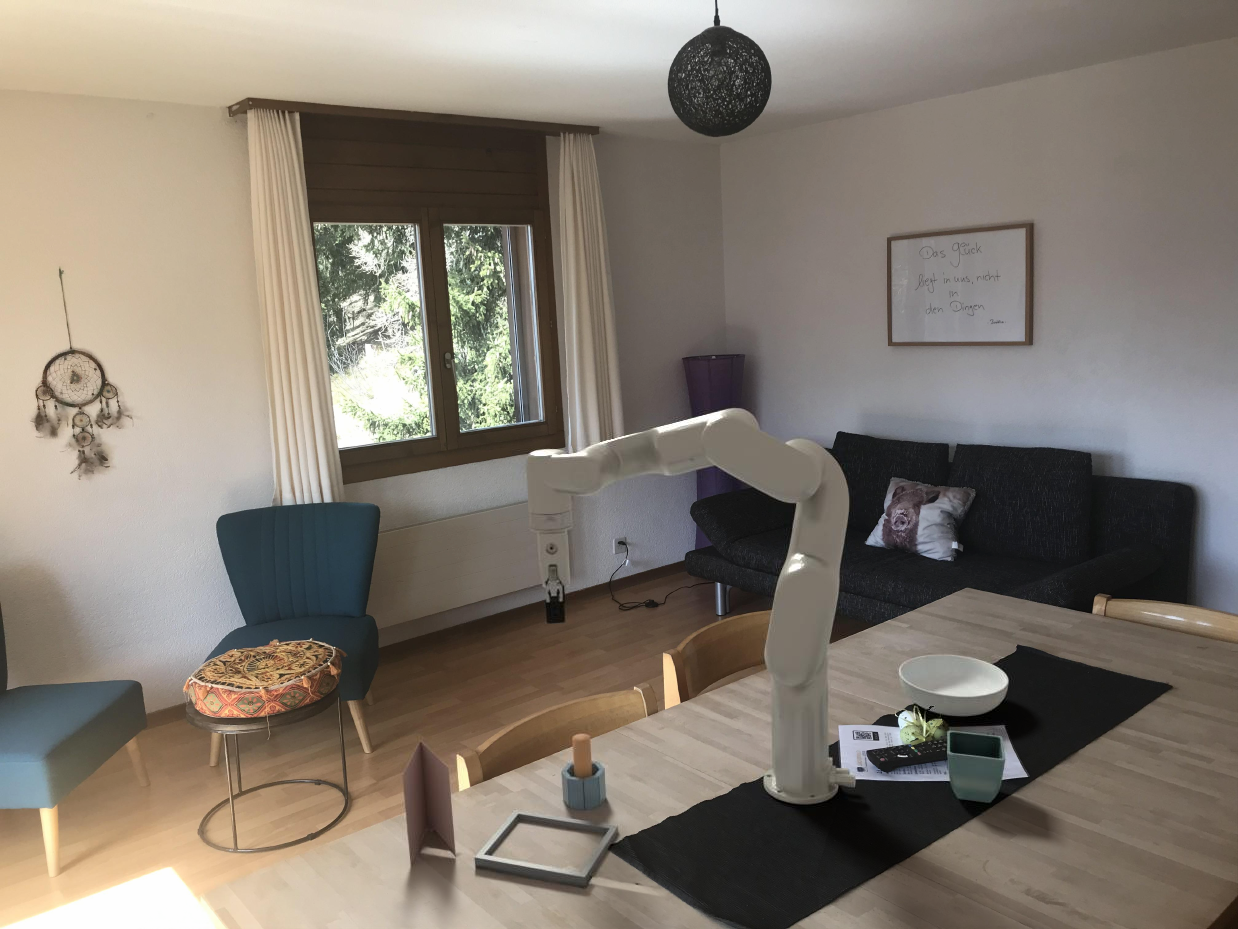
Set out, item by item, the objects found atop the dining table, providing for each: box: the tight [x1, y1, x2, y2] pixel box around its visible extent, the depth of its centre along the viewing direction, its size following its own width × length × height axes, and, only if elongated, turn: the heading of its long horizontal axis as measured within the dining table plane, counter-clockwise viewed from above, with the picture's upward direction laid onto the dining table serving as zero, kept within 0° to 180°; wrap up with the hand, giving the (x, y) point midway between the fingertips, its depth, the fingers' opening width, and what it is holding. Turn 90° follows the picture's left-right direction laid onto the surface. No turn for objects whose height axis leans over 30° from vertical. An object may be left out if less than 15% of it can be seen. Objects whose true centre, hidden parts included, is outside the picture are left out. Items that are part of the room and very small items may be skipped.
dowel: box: [572, 733, 593, 778], centre depth 159 cm, size 3×3×11 cm
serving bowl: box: [898, 654, 1010, 717], centre depth 191 cm, size 21×21×7 cm
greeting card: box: [401, 740, 457, 866], centre depth 149 cm, size 11×7×15 cm, turn 178°
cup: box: [561, 760, 607, 811], centre depth 160 cm, size 7×7×6 cm
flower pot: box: [946, 730, 1006, 804], centre depth 157 cm, size 9×9×9 cm
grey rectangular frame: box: [474, 809, 619, 889], centre depth 146 cm, size 18×14×2 cm
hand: (556, 613), depth 169 cm, fingers open, 9 cm apart
